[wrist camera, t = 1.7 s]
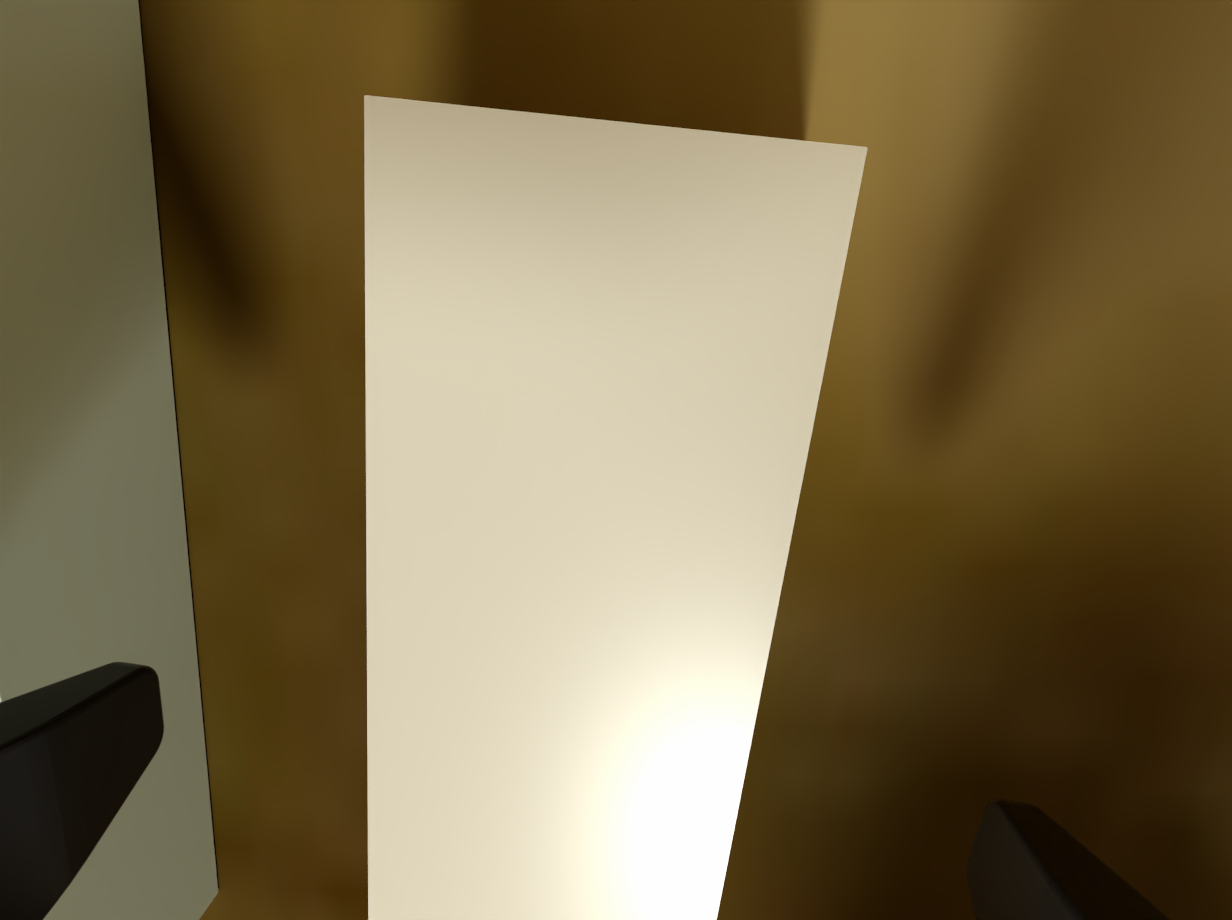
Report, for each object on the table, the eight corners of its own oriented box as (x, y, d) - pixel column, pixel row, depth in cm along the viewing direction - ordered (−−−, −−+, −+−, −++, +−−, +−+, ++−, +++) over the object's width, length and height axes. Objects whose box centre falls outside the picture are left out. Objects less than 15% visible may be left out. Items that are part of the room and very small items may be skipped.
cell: (802, 166, 10) (867, 147, 6) (679, 887, 14) (671, 1150, 10) (491, 133, 10) (364, 95, 6) (458, 851, 14) (369, 1092, 10)
